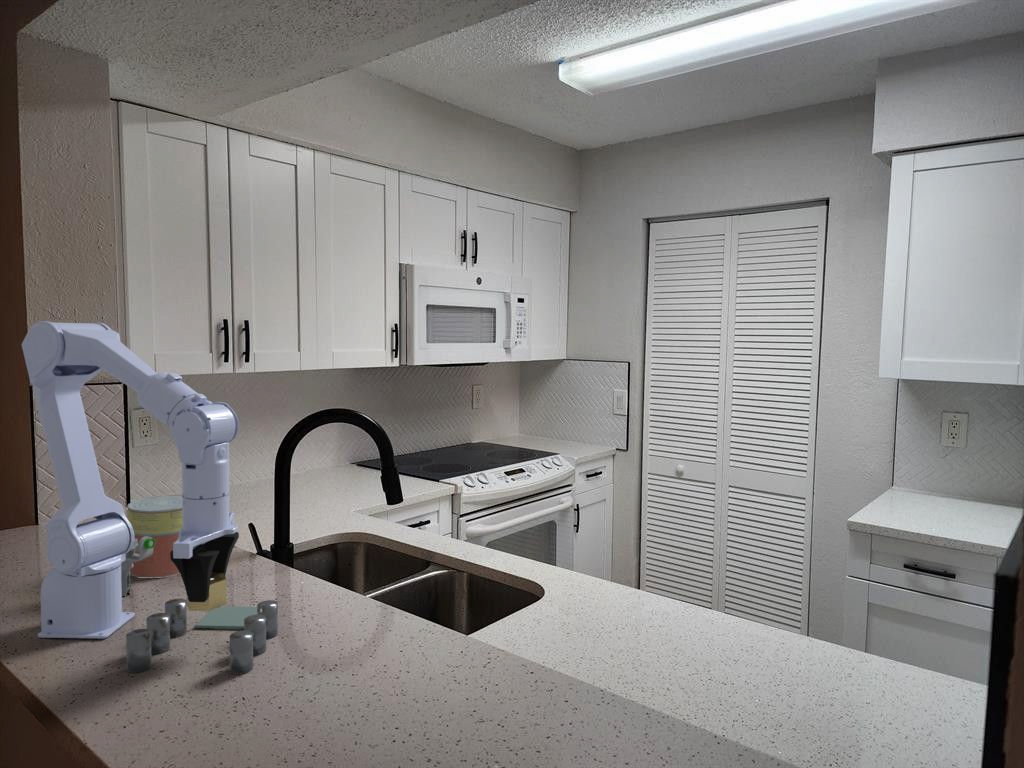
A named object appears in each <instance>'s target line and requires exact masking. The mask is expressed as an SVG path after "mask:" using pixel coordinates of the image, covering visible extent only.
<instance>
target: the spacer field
mask: <svg viewBox="0 0 1024 768" xmlns="http://www.w3.org/2000/svg"><path fill="white" fill-rule="evenodd" d="M256 607H257V615H251V616H248V617H246V618H245V619H244V630H236V631H235V632H232V633H231V634H230V635H229V672H230V674H232V673H234V674H233V675H241V674H240V673H244V674H246V673H245V672H247V673H249V671H250V670H251V671H252V670H253V669H254V656H253V655H255V656H260V655H263V654H264V653H265V652H266V651H267V640H268V639H273V638H275V637H277V636H278V634H279V602H278V601H277V600H272V599H267V600H262V601H260V602H257V604H256ZM187 610H188V606H187V599H185V598H174V599H169V600H167V601H165V603H164V612H159V613H158V612H157V613H154V614H151V615H148V616H147V617H146V628H138V629H137V628H136V629H135V630H132V631H129V632H128V633H126V636H125V640H126V641H125V642H126V643H125V645H126V646H125V649H126V651H125V652H126V672H127V673H131V674H139V673H143V672H146V671H147V670H149V669H151V668H152V666H153V665H152V658H153V657H152V655H159V654H158V653H160V654H163V652H164V653H165V652H168V651H169V650H170V649H171V638H177V637H176V636H179V637H181V636H180V635H182V636H184V635H186V634H187V631H188V627H187V625H188V620H187V619H188V616H187V615H188V613H187V612H188V611H187ZM185 633H186V634H185ZM183 634H184V635H183ZM151 653H152V654H151ZM259 654H260V655H259ZM151 665H152V666H151ZM251 671H250V672H251ZM235 673H236V674H235ZM237 673H238V674H237Z"/></svg>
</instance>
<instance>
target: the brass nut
mask: <svg viewBox="0 0 1024 768" xmlns="http://www.w3.org/2000/svg"><path fill="white" fill-rule="evenodd" d="M186 601H187V610H188V611H189V612H190V611H193V612H194V611H195V612H209V611H211V610H213V609H216V608H218V607H221V606H227V578H226V575H224V573H211V579H210V588H209V594H208V598H207V600H206V601H205V602H189V599H188V596H187V595H186Z"/></svg>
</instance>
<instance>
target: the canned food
mask: <svg viewBox="0 0 1024 768" xmlns="http://www.w3.org/2000/svg"><path fill="white" fill-rule="evenodd" d="M126 508H127V519H128V520H129V522H130V523H131V525H132V527H133V531H134V534H135V539H138V543H139V541H140V539H141V538H143V537H145V536H148V537H151V538H152V539H154V540H155V545H154V547H153V554H152V555H151V556H149V557H147V558H145V559H142V560H140V561H138V562H133V565H134V566H133V568H131V569H130V576H131V575H132V576H131V577H133V576H136V577H153V578H154V577H166V576H171V575H177V574H180V572H179V571H178V569H177V567H176V566H175V564H174V563H173V562H172V560H171V558H170V552H171V551H172V550H173V543H175V542H176V541H177V539H178V537H179V533H180V530H181V528H182V527H183V520H182V495H180V494H179V495H172V494H171V495H158V496H151V497H144V498H140V499H137V500H134V501H131V502H130V503H128V504H127V506H126ZM135 553H136V554H139V552H138V551H135ZM177 576H178V575H177ZM136 577H135V578H136Z"/></svg>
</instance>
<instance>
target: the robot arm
mask: <svg viewBox="0 0 1024 768" xmlns="http://www.w3.org/2000/svg"><path fill="white" fill-rule="evenodd" d="M21 349H22V351H23V352H22V353H23V356H24V360H25V365H26V369H27V373H28V377H29V382H30V383H31V384H32V385H31V386H32V389H33V395H34V398H35V402H36V407H37V410H38V415H39V418H40V419H39V420H40V423H41V426H42V431H43V435H44V440H45V444H46V447H47V448H46V449H47V451H48V456H49V461H50V463H51V468H52V473H53V477H54V482H55V485H56V488H57V492H58V497H59V501H60V507H59V509H57V511H55V513H54V514H53V515H52V516H51V517H50V519H49V520H48V521H46V523H45V530H46V533H47V542H46V550H45V551H46V557H47V560H48V562H49V564H50V565H51V566H52V567H53V568H51V569H50V570H49V571H47V573H46V575H45V576H44V578H43V580H42V584H41V588H40V619H41V620H40V622H41V623H40V624H41V627H40V629H41V631H40V632H38V634H37V637H38V638H46V639H52V638H53V639H55V638H56V639H57V638H58V639H63V638H64V639H106V638H108V637H109V636H111V635H112V634H113V633H115V632H116V631H117V630H119V629H120V628H122V627H123V626H124V625H125V624H126V623H127V622H129V621H130V620H131V619H133V618H134V617H135V616H136V614H135V613H136V612H131V611H130V612H129V611H127V612H126V611H123V599H122V598H123V597H122V585H121V563H122V562H123V561H125V560H126V559H125V554H126V553H128V552H129V551H130V549H131V548H132V546H133V543H134V531H133V527H132V525H131V523H130V522H129V520H128V517H127V516H126V514H125V511H124V506H123V504H122V503H120V502H118V501H116V500H114V499H113V498H110V497H108V496H107V495H106V494H105V489H104V486H103V483H102V482H103V481H102V478H101V474H100V471H99V470H100V469H99V466H98V462H97V457H96V453H95V449H94V444H93V441H92V437H91V433H90V429H89V425H88V421H87V416H86V413H85V407H84V404H83V400H82V396H81V390H82V389H83V387H84V385H85V384H86V383H87V382H89V381H91V380H92V379H93V378H94V377H95V376H96V375H98V373H99V372H101V371H102V370H103V371H104V372H105V373H107V374H109V375H110V376H111V377H114V378H115V379H117V380H118V381H120V382H121V383H123V384H124V385H126V386H127V387H129V388H130V389H132V390H133V391H135V392H137V403H138V404H139V405H140V407H142V408H143V409H144V410H146V411H147V412H148V413H150V414H151V415H152V416H153V417H155V418H156V419H157V420H159V421H160V422H161V423H163V425H165V426H166V427H168V428H169V429H170V435H171V438H172V440H173V442H174V443H175V446H176V447H177V450H178V459H179V462H180V463H181V466H182V467H181V469H182V470H181V473H182V474H181V476H182V477H181V482H182V483H181V485H182V489H181V490H182V491H181V492H182V493H181V494H182V495H181V496H182V520H183V527H182V528H181V530H180V533H179V537H178V539H177V541H176V542H175V543H173V550H172V551H171V552H170V558H171V560H172V562H173V563H174V564H175V566H176V567H177V569H178V571H179V572H180V574H181V575H180V576H181V580H182V582H183V586H184V589H185V591H186V592H185V593H186V597H187V596H188V599H189V602H205V601H206V600H207V598H208V594H209V588H210V579H211V573H224V575H225V576H226V573H227V569H228V565H229V562H230V557H231V555H232V552H233V549H234V548H235V546H236V543H237V542H238V540H239V538H240V533H239V532H238V530H239V526H238V525H236V524H235V512H230V443H232V442H233V441H234V440H235V439H236V437H237V435H238V433H239V428H240V423H239V418H238V416H237V414H236V411H234V409H233V408H232V407H231V406H230V405H229V404H228V403H226V402H223V401H221V402H220V401H217V402H212V401H210V400H208V398H207V396H205V395H204V394H203V393H198V392H197V391H195V390H194V389H193V388H191V387H190V386H189V385H188V384H186V383H184V382H183V381H182V380H183V377H182V375H180V374H178V373H177V372H173V373H171V372H169V371H167V372H166V371H164V372H159V373H157V372H156V371H154V369H152V368H151V367H150V366H149V365H148V364H146V362H144V361H143V360H142V359H141V358H140V357H138V356H137V354H135V353H134V352H133V351H132V350H130V348H129V347H127V346H126V345H125V344H123V342H121V337H120V333H119V332H117V331H115V330H114V329H111V328H110V326H108V325H107V324H106V323H103V322H91V323H88V322H87V323H85V322H84V323H83V322H52V321H48V320H40V321H37V322H35V323H33V324H32V325H31V327H30V328H29V330H28V332H27V333H26V335H25V337H24V339H23V341H22V343H21ZM91 518H94V519H93V520H91V521H87V522H83V523H80V522H82V521H85V520H88V519H91ZM79 523H80V524H79Z"/></svg>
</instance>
